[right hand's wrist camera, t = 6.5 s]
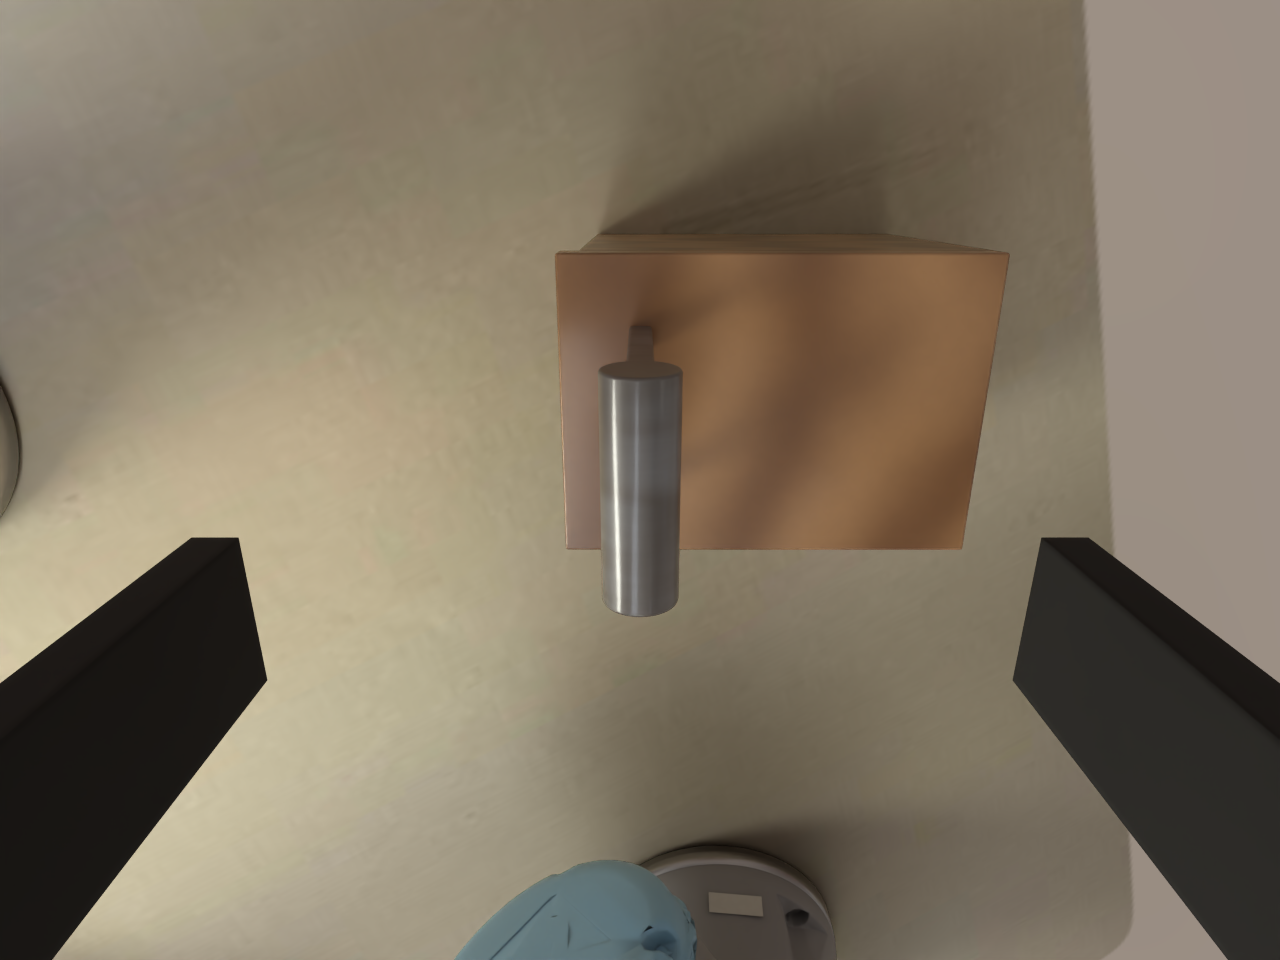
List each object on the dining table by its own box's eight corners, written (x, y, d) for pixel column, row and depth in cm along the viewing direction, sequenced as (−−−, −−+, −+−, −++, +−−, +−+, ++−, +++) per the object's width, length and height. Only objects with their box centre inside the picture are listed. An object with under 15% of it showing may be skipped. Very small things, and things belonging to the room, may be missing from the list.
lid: (568, 538, 27) (536, 689, 19) (558, 250, 24) (512, 279, 15) (951, 538, 27) (1089, 689, 19) (996, 250, 24) (1189, 280, 15)
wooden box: (601, 443, 37) (585, 537, 27) (597, 234, 34) (578, 250, 24) (865, 443, 37) (950, 537, 27) (888, 234, 34) (995, 250, 24)
